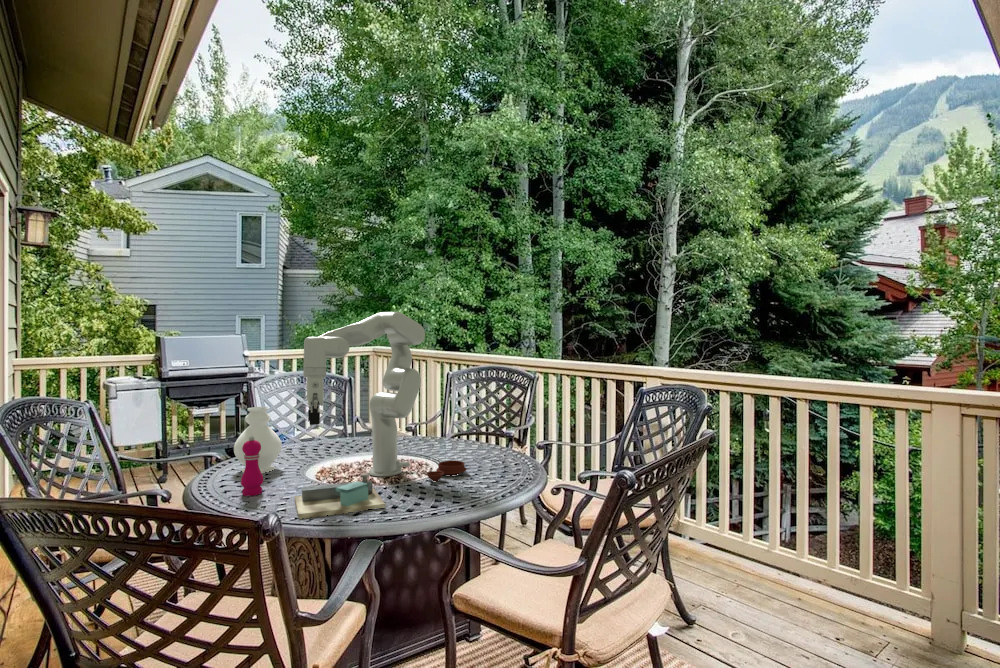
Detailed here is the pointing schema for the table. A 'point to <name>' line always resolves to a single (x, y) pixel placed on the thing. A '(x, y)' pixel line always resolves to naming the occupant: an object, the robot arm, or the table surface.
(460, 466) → the pottery
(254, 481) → the pepper mill
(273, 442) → the decorative vase
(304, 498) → the link
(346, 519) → the table surface
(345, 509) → the base board
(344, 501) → the block
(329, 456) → the table surface
